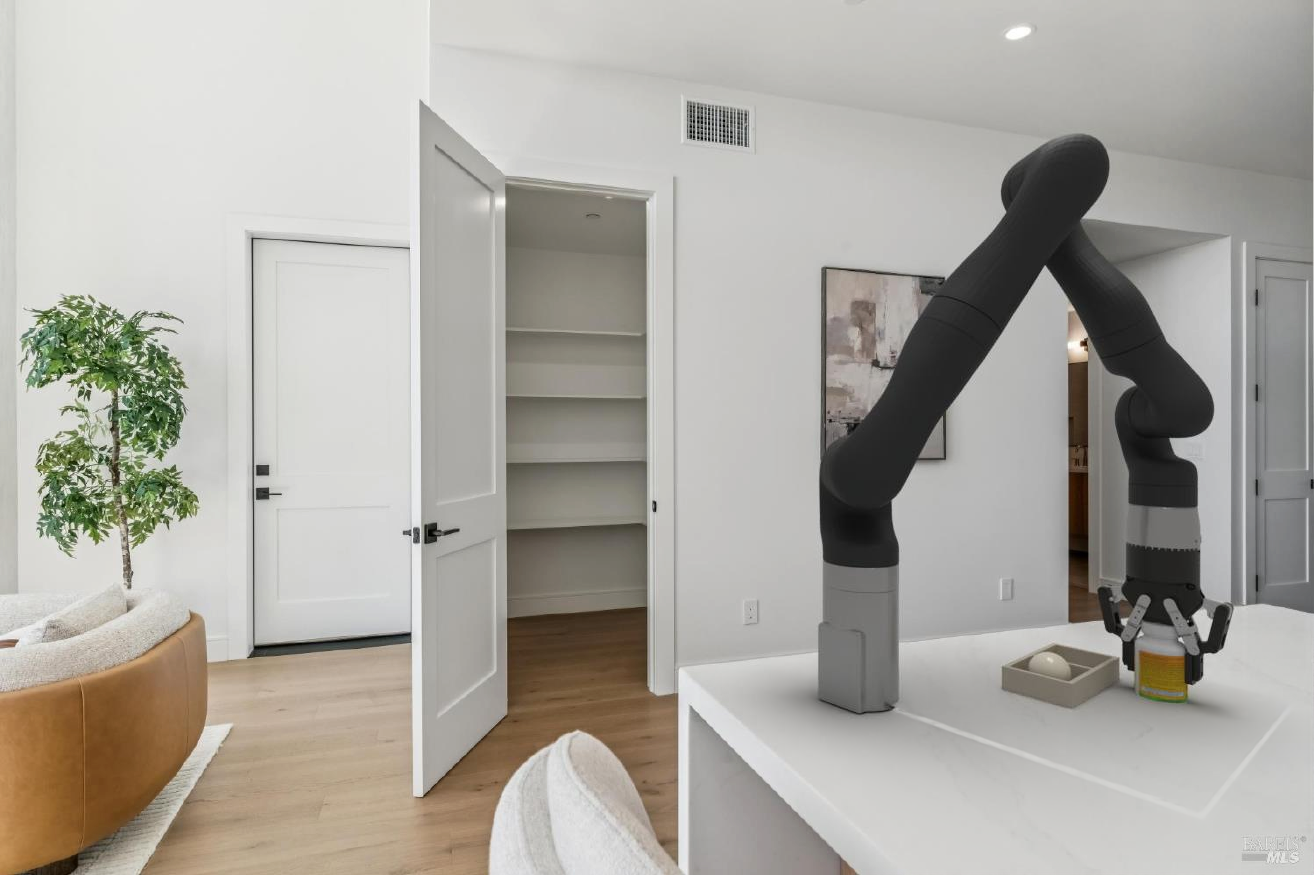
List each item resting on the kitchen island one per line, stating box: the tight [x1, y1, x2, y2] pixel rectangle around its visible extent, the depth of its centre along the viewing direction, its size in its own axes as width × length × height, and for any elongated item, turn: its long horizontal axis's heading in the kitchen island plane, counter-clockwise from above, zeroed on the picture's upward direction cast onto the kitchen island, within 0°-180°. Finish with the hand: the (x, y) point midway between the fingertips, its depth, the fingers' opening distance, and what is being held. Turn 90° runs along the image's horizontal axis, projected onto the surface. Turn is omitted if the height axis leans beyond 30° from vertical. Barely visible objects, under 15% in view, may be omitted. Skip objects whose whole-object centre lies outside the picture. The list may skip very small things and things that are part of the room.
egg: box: [1028, 652, 1072, 682], centre depth 87 cm, size 5×5×5 cm
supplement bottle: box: [1133, 619, 1189, 706], centre depth 85 cm, size 5×5×10 cm
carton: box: [1001, 642, 1121, 710], centre depth 90 cm, size 16×8×4 cm, turn 129°
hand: (1161, 675), depth 86 cm, fingers closed on supplement bottle, 5 cm apart
